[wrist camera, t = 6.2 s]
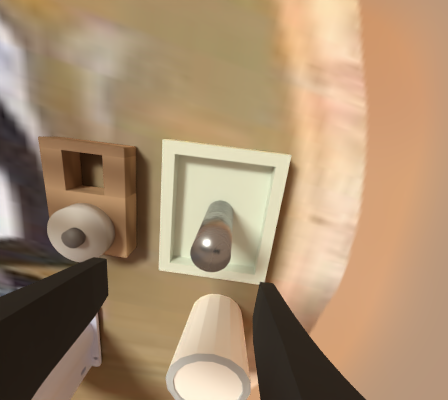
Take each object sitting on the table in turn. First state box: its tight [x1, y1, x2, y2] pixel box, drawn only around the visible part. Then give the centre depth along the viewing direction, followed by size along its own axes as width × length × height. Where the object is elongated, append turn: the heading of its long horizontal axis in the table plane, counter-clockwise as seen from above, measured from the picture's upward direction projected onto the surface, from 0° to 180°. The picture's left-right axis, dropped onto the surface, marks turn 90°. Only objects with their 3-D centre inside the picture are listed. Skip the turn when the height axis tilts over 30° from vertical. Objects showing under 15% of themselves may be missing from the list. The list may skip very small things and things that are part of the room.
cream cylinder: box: [166, 294, 250, 400], centre depth 20 cm, size 7×7×7 cm
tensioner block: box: [38, 137, 137, 262], centre depth 18 cm, size 10×7×4 cm
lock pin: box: [190, 200, 234, 272], centre depth 15 cm, size 2×2×7 cm
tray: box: [159, 139, 291, 285], centre depth 19 cm, size 12×10×2 cm
